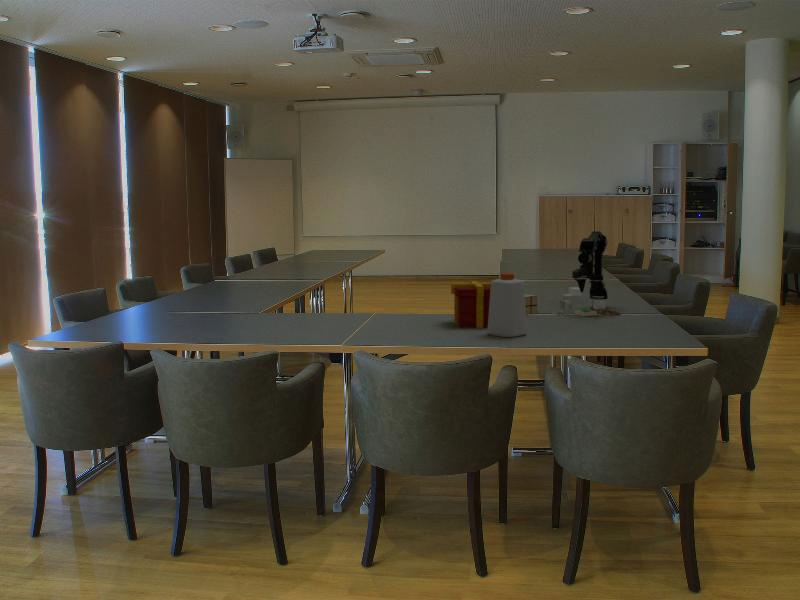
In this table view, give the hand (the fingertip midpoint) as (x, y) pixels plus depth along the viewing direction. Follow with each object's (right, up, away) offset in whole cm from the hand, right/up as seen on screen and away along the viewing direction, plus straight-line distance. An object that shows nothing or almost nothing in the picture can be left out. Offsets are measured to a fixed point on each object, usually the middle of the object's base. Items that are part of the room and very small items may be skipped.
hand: (587, 293), depth 411 cm
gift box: (-59, -16, -18) cm, 64 cm away
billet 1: (-9, -11, +8) cm, 16 cm away
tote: (-9, -12, +8) cm, 17 cm away
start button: (0, -10, +2) cm, 10 cm away
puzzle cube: (-30, -11, +15) cm, 36 cm away
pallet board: (+10, -12, +5) cm, 16 cm away
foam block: (+4, -5, +60) cm, 61 cm away
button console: (0, -12, +2) cm, 12 cm away
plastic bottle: (-48, -20, -48) cm, 71 cm away
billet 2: (+9, -10, +9) cm, 16 cm away
